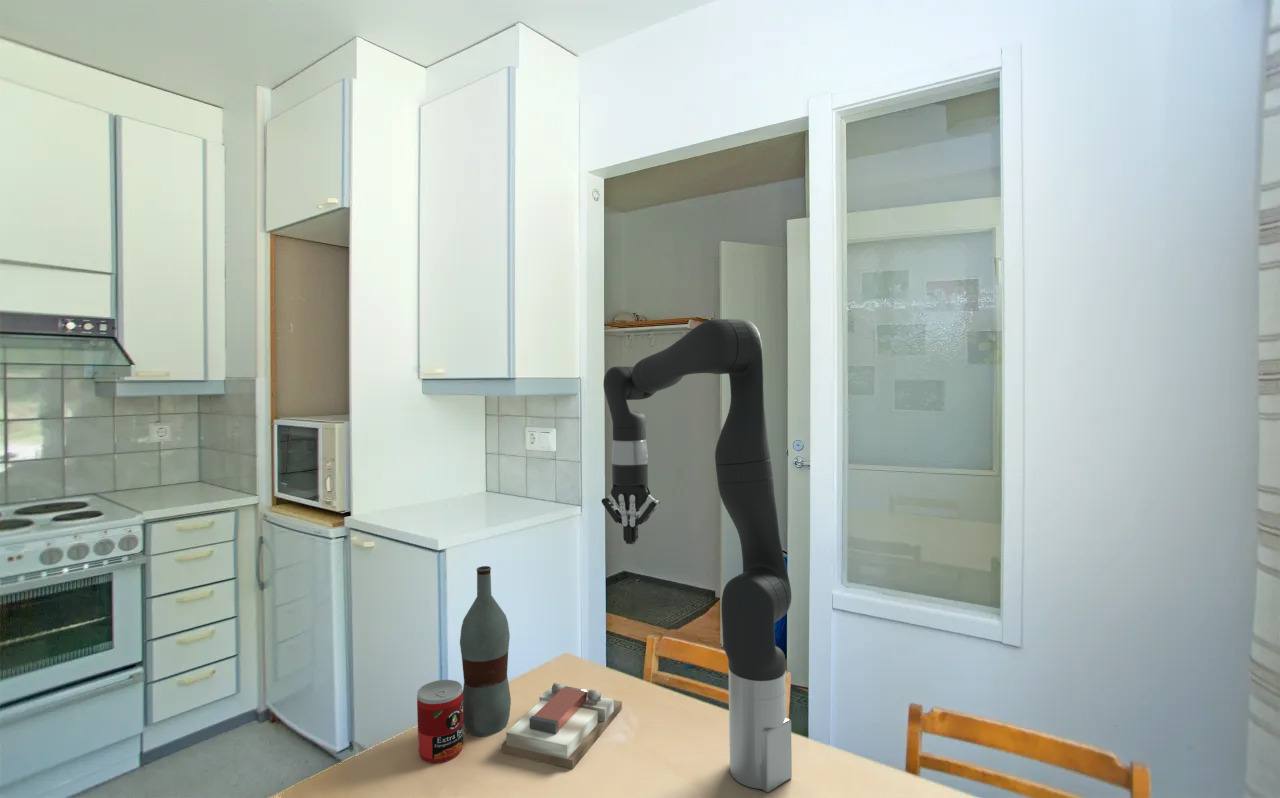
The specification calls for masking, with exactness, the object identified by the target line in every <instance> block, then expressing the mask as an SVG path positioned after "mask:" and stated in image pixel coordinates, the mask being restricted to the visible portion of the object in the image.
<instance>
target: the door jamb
mask: <svg viewBox="0 0 1280 798" xmlns="http://www.w3.org/2000/svg"><path fill="white" fill-rule="evenodd" d="M565 686H566V685H565V684H562V683H556V682H554V683H553V684H552V686H551V687H549V688H548V689H547V690H545V691H544V692H543V693H542V694H541V695H540V696H539V697H538V698H539V699H538V700H539V702H537V703H536V704H535V705H534V707H532V708H531V709H530V710H529V711H527V713H526V714H525V715H523V716H522V717H521V718H520V719H519V720H518V721H517V722H516V723H515V724H514V725H512V727H510V728H509V729H508V730H507V731H506V732H505V735H506V736H505V738H506V740H504V742H502V743H501V753H502V754H507V755H510V756H514V757H519V758H523V759H527V760H530V761H531V760H533V761H537V762H540V763H545V764H550V765H553V766H559V767H561V768H565V769H566V768H567V769H571V770H574V768H575V767H576V766H577V765H578V764H579V763H580V761H581V760H582V759H583V758H584V756H585V755H586V754H587V753H588V751H589V750H590V749H591V748H592V746H593V745H594V744H595V743H596V742H597V740H598V739H599V738H600V737H601V735H602V734H603V733H604V732H605V730H606V729H607V728H608V727H609V726H610V724H611V723H612V722H613V721H614V720H615V718H616V717H617V716H618V715H619V713H620V712H621V709H622V710H623V701H620V700H615V699H614V698H608V697H602V692H601V690H596V689H589V692H588V698H586V699H587V700H586V701H585V702H584V703H583V704H582V705H581V706H580V707H579V708H578V710H577V711H576V712H575V713H574V714H573V715H572V716H571V717H570V718H569V719H568V720H567V721H566V722H565V724H564V725H563V726H562V727H561V728H560V729H559V731H558V732H557V733H556V734H553V733H548V732H543V731H538V730H534V729H530V718H531V717H532V716H534V715H535V714H536V713H537V712H538V711H539V710H540V709H541V708H542V707H543V706H544V705H545V704H546V703H547V702H548V701H550V700H551V699H552V698H553V697H554V696H555V695H556V694H557V693H558V692H559V691H560V690H561V689H562V688H563V687H565ZM617 714H618V715H617Z"/></svg>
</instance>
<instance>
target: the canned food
mask: <svg viewBox="0 0 1280 798" xmlns="http://www.w3.org/2000/svg"><path fill="white" fill-rule="evenodd" d="M416 705H417V706H416V707H417V710H416V711H417V739H418V740H417V747H418V748H417V749H418V754H419V757H420V758H421V760H423V761H424V762H427V763H430V764H431V763H432V764H440V763H444V762H448V761H451V760H453V759H455V758H456V757H457V756H459V755H460V753H462V751H463V746H464V739H465V738H464V724H463V685H462V683H461V682H459V681H457V680H454V679H453V680H452V679H439V680H435V681H434V680H433V681H431V682H430V681H429V682H428V683H426V684H424V685H422V686H421V687H420V688H419V689H418V690H417V696H416Z"/></svg>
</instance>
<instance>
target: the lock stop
mask: <svg viewBox="0 0 1280 798" xmlns="http://www.w3.org/2000/svg"><path fill="white" fill-rule="evenodd" d="M589 690H590V689H589ZM589 690H588V689H585V688H584V689H583V688H579V687H578V688H577V687H572V686H567V685H565V687H563V688H562V689H561V690H560V691H559V692H558V693H557V694H556V695H555V696H554V697H553V698H552V699H551V700H550V701H548V702H547V703H546V704H545V705H544V706H543V707H542V708H541V709H540V710H539V711H538V712H537V713H536V714H535V715H534V716H532V717H531V718H530V729H534V730H538V731H543V732H548V733H553V734H556V733H557V732H558V731H559V729H560V728H561V727H562V726H563V725H564V724H565V722H566V721H567V720H568V719H569V718H570V717H571V716H572V715H573V714H574V713H575V712H576V711H577V710H578V708H579V707H580V706H581V705H582V704H583V703H584V702H585V701H586V700H587V699H586V698H588V692H589Z"/></svg>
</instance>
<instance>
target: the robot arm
mask: <svg viewBox="0 0 1280 798" xmlns="http://www.w3.org/2000/svg"><path fill="white" fill-rule="evenodd" d="M763 352H764V350H763V342H762V339H761V335H760V332H759V329H758V328H757V326H756V325H755V324H754V323H753V322H752V321H750V320H748V319H738V318H736V319H735V318H734V319H733V318H717V319H716V318H713V319H708V320H706V321H703V322H701V323H700V324H698V325H696V326H695V327H693V328H692V329H691V330H690V331H689V332H688V333H686V334H685V335H684V336H682V337H681V338H680V339H678V340H677V341H676V342H674V343H673V344H672V345H670V346H669V347H666V348H665V349H663V350H661V351H658V352H656V353H654V354H651V355H649V356H647V357H645V358H642V359H640V360H639V361H638V362H637V363H636V364H635V365H634V366H612V367H610V368H609V369H608V370H607V371H606V373H605V375H604V378H603V385H602V386H603V390H604V395H605V399H606V401H607V404H608V405H607V406H608V409H609V414H610V417H611V421H612V446H611V447H612V448H611V469H612V470H611V474H612V475H611V479H612V480H611V481H612V487H611V490H610V494H608V495H607V496H606V497H604V498H602V499H601V504H602V505H603V507H604V509H605V510H606V511H607V512H608V514H609V515H610V516H611V518H612V519H613V521H614V522H615V523H616V524H620V525H622V527H623V529H622V531H623V533H622V534H623V541H624V542H625V544H626V545H634V544H636V542H638V540H639V525H643V524H644V523H646V522H647V521H648V520H649V518H651V516H652V515H653V513H654V512H656V509H657V508H658V507H659V505H660V503H661V501H660V500H659V499H655V497H653V496H652V495H651V491H650V489H649V486H648V484H649V472H648V471H649V469H648V468H649V463H648V461H649V455H648V446H647V430H646V429H647V428H646V427H647V418H646V415H645V414H644V413H643V412H640V411H636V410H632V409H631V408H630V406H629V404H628V401H637V400H639V401H641V400H645V399H648V398H649V399H650V397H652V396H653V395H654V394H656V393H657V392H659V391H661V390H665V389H668V388H671V387H672V386H675V385H676V384H678V383H679V382H680V381H682V379H683V378H684V377H685V376H688V375H695V374H696V375H697V374H712V375H727V374H728V376H729V386H730V404H729V409H728V413H727V416H726V419H725V421H724V424H723V427H722V429H721V431H720V434H719V437H718V441H717V443H716V447H715V452H714V461H715V471H716V479H717V480H716V481H717V487H718V492H719V496H720V498H721V500H722V503H723V506H724V507H725V509H726V512H727V514H728V515H729V517H730V519H731V520H732V522H733V525H734V526H735V529H736V530H737V534H738V537H739V542H740V546H741V547H740V548H741V549H740V550H741V556H742V573H740V574H738V575H736V576H735V577H733V578H731V579H730V580H729V581H727V583H726V584H725V586H724V588H723V591H722V594H721V595H722V596H721V626H722V628H721V629H722V642H723V643H722V644H723V650H724V652H725V655H726V656H727V661H728V729H729V730H728V732H729V733H728V734H729V735H728V736H729V739H728V740H729V744H728V745H729V771H730V774H731V776H732V779H734V780H735V781H736V782H737V783H740V784H741V785H743V786H746V787H749V788H753V789H757V790H758V789H759V790H763V791H764V792H766V793H769V792H771V791H772V790H774V789H776V788H777V787H779V786H780V785H782V784H784V783H785V782H787V781H788V780H790V779H792V777H793V774H792V773H793V771H792V769H793V767H792V766H793V763H792V762H793V761H792V759H793V758H792V751H793V750H792V720H791V719H790V718H788V717H787V710H786V709H787V708H786V707H787V701H786V700H787V695H786V692H787V691H786V681H787V680H786V655H785V653H784V651H783V650H782V649H781V648H780V647H779V646H777V645H776V639H775V638H776V637H775V636H776V635H775V623H777V622H779V621H780V620H781V619H783V618H784V617H785V616H786V615H787V613H788V612H789V610H790V607H791V604H792V589H791V588H792V587H791V582H790V578H789V574H788V573H789V572H788V570H787V564H786V560H785V556H784V552H783V547H782V541H781V537H780V536H781V535H780V530H779V520H778V511H777V510H778V509H777V503H776V496H775V486H774V483H775V482H774V475H773V474H774V473H773V466H772V457H771V452H770V451H771V450H770V445H769V440H768V439H769V437H768V429H767V419H766V407H765V405H766V404H765V391H764V388H765V387H764V379H765V378H764V355H763V354H764V353H763ZM616 504H617V505H616ZM644 504H645V506H646V508H645V510H644V511H643V512H642V514H641V509H642V507H644ZM618 507H619V508H618Z"/></svg>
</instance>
